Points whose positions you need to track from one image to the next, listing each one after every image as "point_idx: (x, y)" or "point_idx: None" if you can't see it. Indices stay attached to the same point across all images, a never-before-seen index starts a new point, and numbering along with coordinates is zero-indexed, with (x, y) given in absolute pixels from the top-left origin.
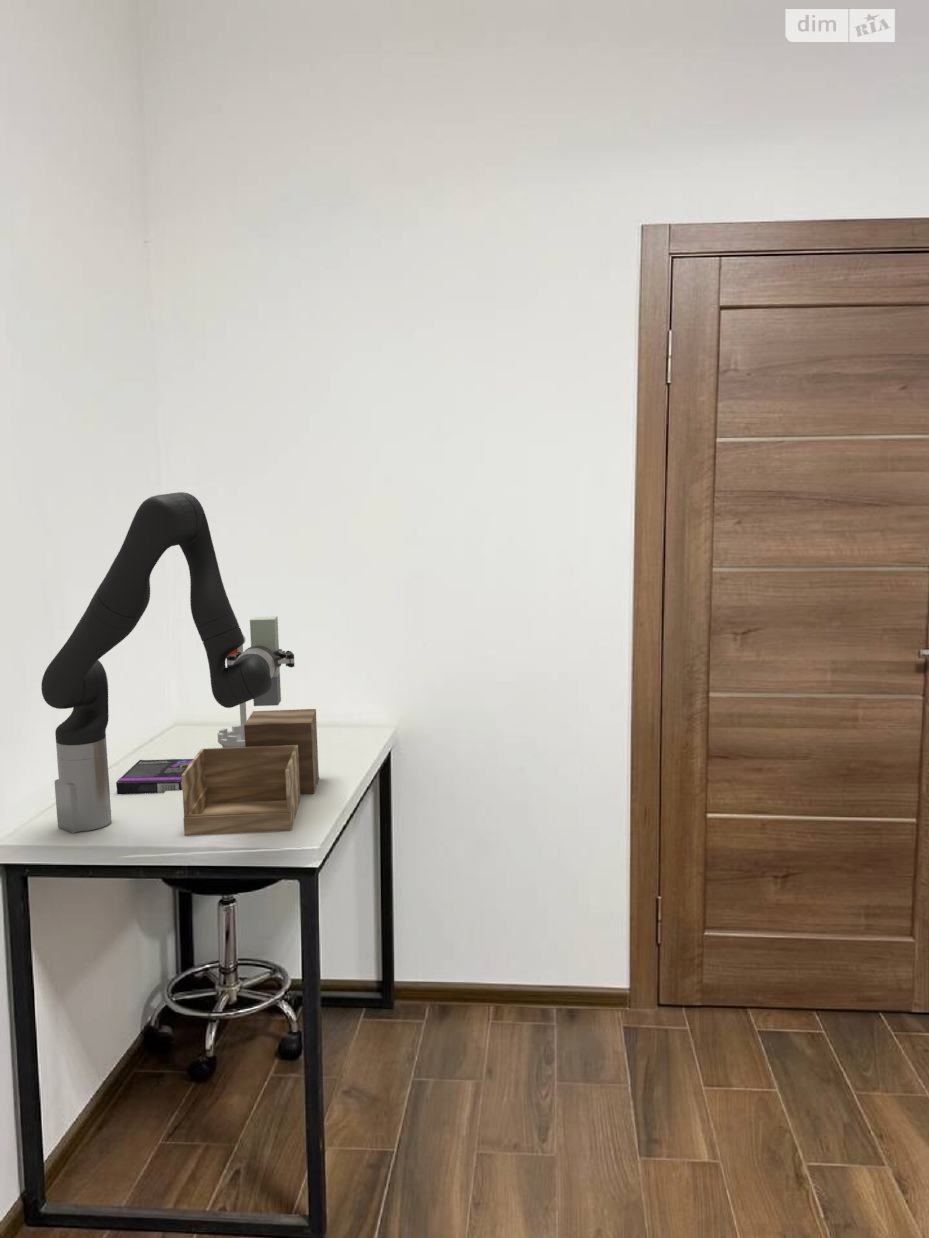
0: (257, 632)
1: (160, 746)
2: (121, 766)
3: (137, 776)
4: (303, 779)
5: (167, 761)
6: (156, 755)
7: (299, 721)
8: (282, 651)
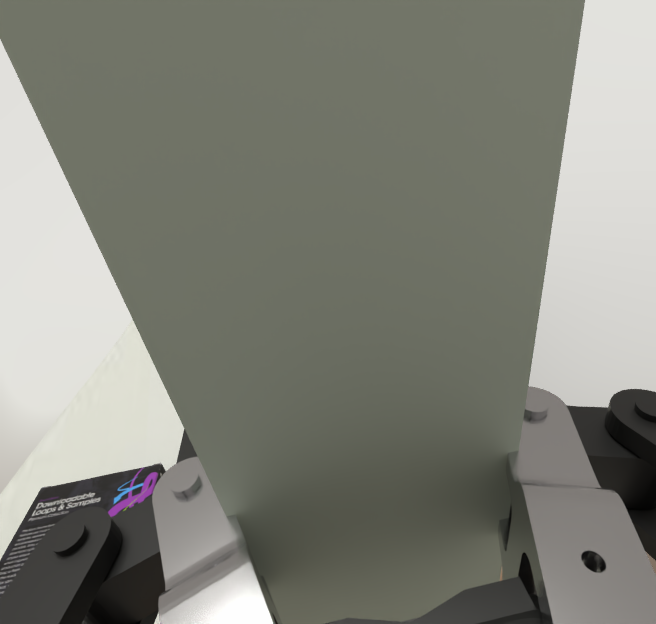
0: (250, 267)
1: (111, 377)
2: (24, 478)
3: None
4: None
5: (95, 492)
6: (98, 415)
7: (501, 570)
8: (567, 409)
